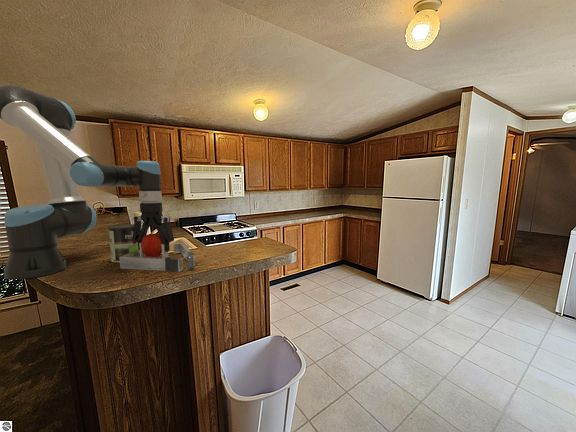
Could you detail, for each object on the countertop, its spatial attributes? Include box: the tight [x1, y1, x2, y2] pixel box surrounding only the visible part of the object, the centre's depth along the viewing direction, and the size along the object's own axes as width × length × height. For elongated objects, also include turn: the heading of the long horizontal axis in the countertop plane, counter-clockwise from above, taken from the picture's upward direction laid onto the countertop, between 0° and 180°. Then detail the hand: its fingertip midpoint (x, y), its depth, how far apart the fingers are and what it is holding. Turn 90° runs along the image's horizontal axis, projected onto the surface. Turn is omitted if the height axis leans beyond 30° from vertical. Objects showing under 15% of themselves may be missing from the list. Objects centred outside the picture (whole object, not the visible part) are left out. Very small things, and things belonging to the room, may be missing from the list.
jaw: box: [172, 242, 196, 266], centre depth 101 cm, size 23×4×4 cm, turn 34°
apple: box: [141, 233, 163, 257], centre depth 94 cm, size 9×8×11 cm
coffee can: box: [107, 223, 140, 264], centre depth 99 cm, size 10×10×14 cm
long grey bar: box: [119, 254, 195, 273], centre depth 89 cm, size 27×5×5 cm, turn 84°
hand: (154, 258), depth 94 cm, fingers closed on apple, 8 cm apart
